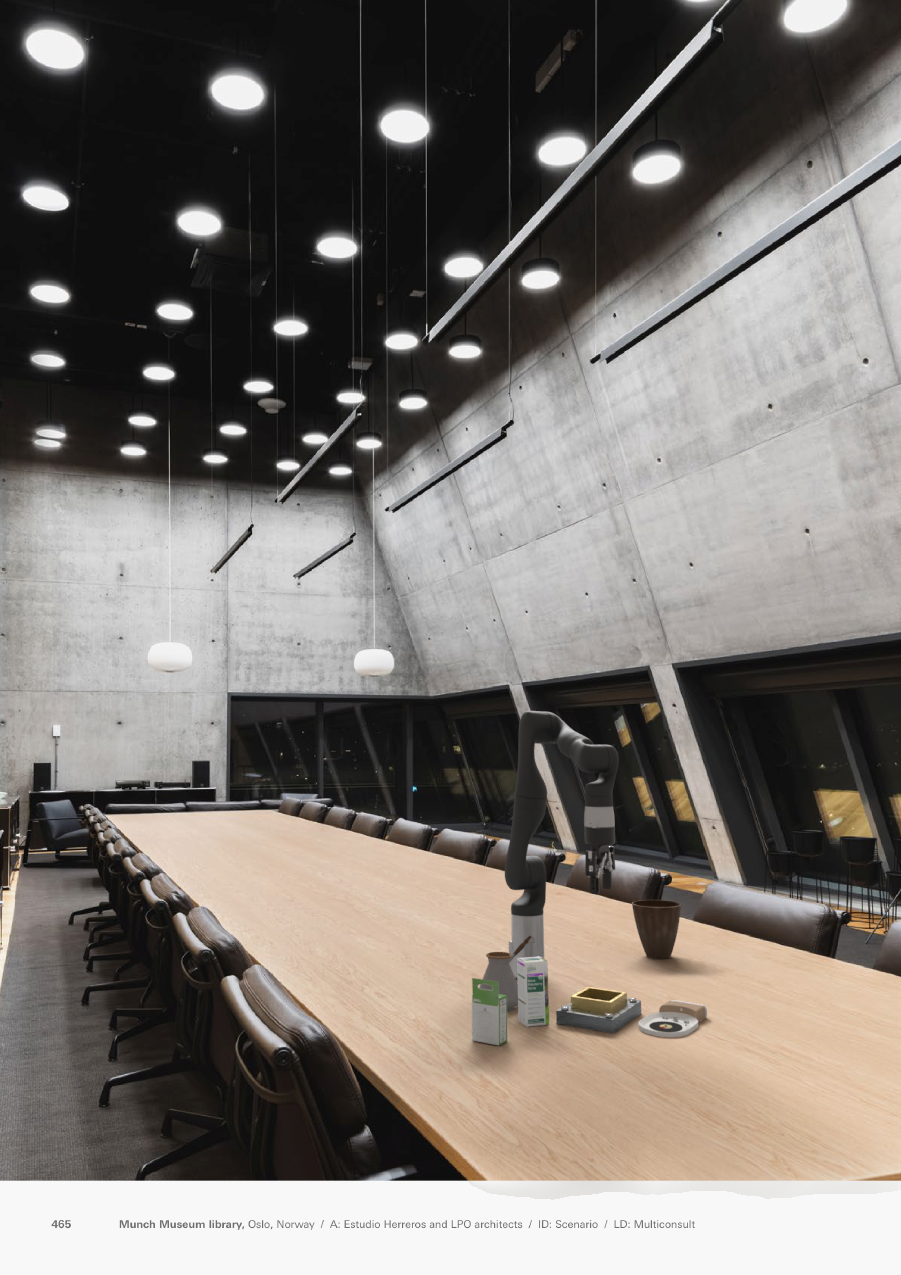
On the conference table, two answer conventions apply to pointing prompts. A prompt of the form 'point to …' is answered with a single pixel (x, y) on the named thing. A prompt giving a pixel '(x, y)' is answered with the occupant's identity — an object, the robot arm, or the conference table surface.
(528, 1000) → the syrup box
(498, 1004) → the ink box
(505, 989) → the coffee pot
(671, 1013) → the record player
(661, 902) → the plant pot
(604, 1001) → the square socket fixture
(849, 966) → the conference table surface
